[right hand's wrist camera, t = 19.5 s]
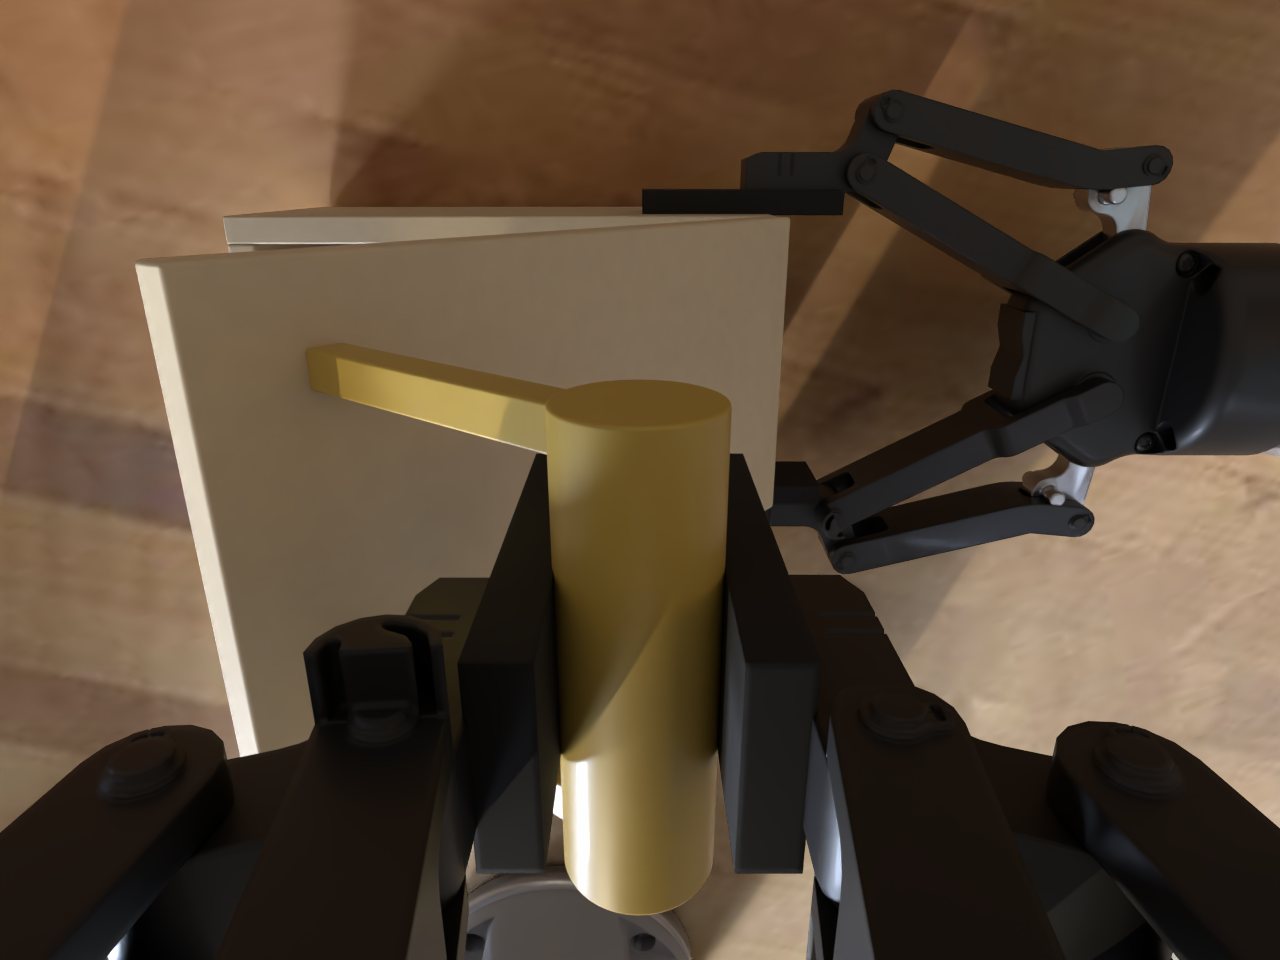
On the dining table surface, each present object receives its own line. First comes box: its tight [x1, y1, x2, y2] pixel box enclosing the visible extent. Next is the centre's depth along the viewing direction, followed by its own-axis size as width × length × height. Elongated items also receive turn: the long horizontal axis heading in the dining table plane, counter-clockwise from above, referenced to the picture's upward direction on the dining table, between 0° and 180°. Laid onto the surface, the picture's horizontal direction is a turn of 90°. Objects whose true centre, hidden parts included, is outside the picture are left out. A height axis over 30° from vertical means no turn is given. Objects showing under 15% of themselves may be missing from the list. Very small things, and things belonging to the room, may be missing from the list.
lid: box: [135, 216, 790, 915], centre depth 17 cm, size 18×10×9 cm
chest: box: [223, 207, 773, 253], centre depth 31 cm, size 17×9×9 cm, turn 90°
